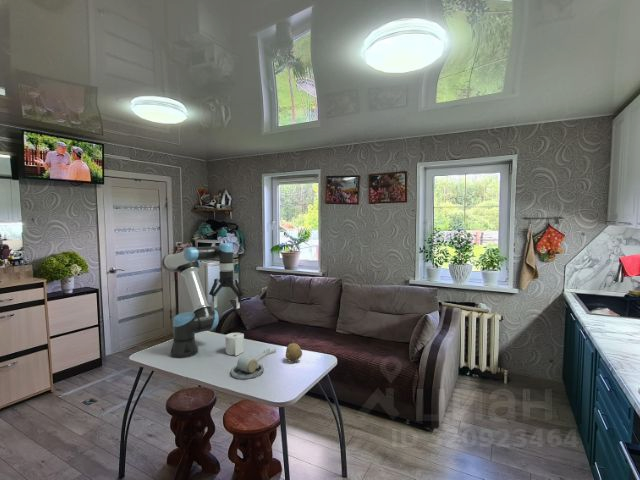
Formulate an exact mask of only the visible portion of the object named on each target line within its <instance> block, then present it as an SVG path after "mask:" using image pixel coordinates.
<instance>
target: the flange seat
mask: <svg viewBox="0 0 640 480" xmlns="http://www.w3.org/2000/svg"><path fill="white" fill-rule="evenodd" d="M257 364H258V365H259V368H256V370H255V371H254V372H253V373H247V372H244V371H241V370H239V369H238V367H237V365H234V366H233V367H232V368H231V369H230V374H231V377H233V378H234V379H236V380H251V379H256V378H259V377H260V376H261V375H263V373H264V371H265V368H264V366H263V364H260V363H258V362H257Z"/></svg>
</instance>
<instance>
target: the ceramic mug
mask: <svg viewBox="0 0 640 480" xmlns="http://www.w3.org/2000/svg"><path fill="white" fill-rule="evenodd" d="M257 363H258V362H257V361H256V360H255V358H254V357H251V356H249V355H246V354H243V355H241V356H239V358H238V360H237V363H236V366H237V367H238V369H239V370H241V371H244V372H247V373H253V372H254V371H255V370H256V368H259V365H258V364H259V363H258V364H257Z"/></svg>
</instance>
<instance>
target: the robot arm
mask: <svg viewBox="0 0 640 480" xmlns="http://www.w3.org/2000/svg"><path fill="white" fill-rule="evenodd" d="M209 260H218V261H219V278H214V280H213V283H212V286H211V289H210V291H209V293H208V295H210V296H212V300H211V301H212V302H213V308H212V306H211V305H209V304H208V301H207V297H206V295H205V290H204V289H203V285H202V283H201V279H200V277H199V270H200V268H201V261H209ZM161 267H162V268H163V269H164V270H165V271H167V272H170V273H177V272H179V273H180V276H181V277H183V278H184V280H185V285H186V287H187V291H188V294H189V298H190V301H191V304H192V306H193V311H187V312H186V311H185V312H181V313H178V314H176V315H175V316H174V317H173V321H172V322H173V323H172V326H173V327H172V329H173V330H172V334H173V343H172V345H171V348H170V353H169V354H170V357H172V358H176V359H184V358H190V357H194V356H195V355H196V354H198V352H199V346H198V344H197V342H196V337H195V334H198V333H203V332H206V331H211V330H215V329H216V328H217V326H218V324H219V313H218V311H217V310H216V309H215V308H217V307H218V295H217V294H218V293H219V292H220V290H221V289H222V288H230V289H231V290H232V291H233V293H234V294H235V295H236V297H235V299H236V302H235V303H236V310H237V309H240V308H241V307H240V306H241V305H240V303H242V296H244V295H245V293H244V292H245V291H244V290H243V289H242V286H241V284H240V280H239V278H235V279H234V246H233V243H227V242H226V243H225V242H224V243H220V244H219V245H218V246H217V245H213V246H191V247H187V248H185V249H184V250H183V251H181V252H177V253H173V254H172V253H170V254H167V255H165V256H164V257H163V258H162V259H161ZM218 283H219V285H218ZM234 284H235V285H234ZM217 285H218V287H217Z"/></svg>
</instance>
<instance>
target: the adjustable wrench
mask: <svg viewBox="0 0 640 480" xmlns="http://www.w3.org/2000/svg"><path fill="white" fill-rule="evenodd" d="M276 353H277V349H276V348H275V347H274V348H273V349H270V348H269V347H268V348H266V349H264V350H263V353H261V354H260V355H258V356H257V357H255V358H254V359H255V360H256V361H257V363H258V362H259V361H261V360H262V359H265V357H267V356H269V355H272V354H276Z"/></svg>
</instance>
